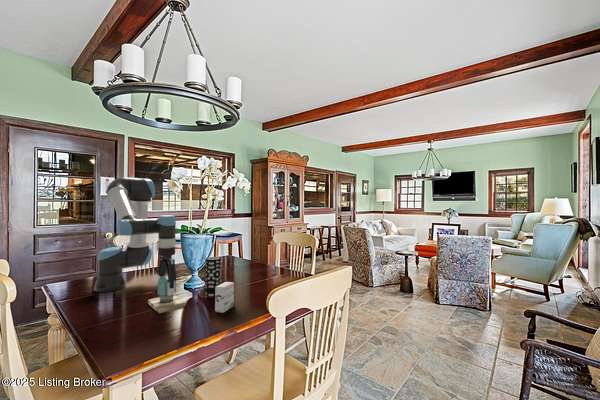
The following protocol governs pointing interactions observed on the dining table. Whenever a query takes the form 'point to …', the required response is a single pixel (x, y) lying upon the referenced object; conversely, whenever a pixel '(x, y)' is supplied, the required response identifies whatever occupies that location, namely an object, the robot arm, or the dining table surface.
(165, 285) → the cap
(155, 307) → the board
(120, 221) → the robot arm
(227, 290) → the ink box
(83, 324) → the dining table surface
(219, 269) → the white-spotted black cylinder
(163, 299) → the knobbed metal weight
